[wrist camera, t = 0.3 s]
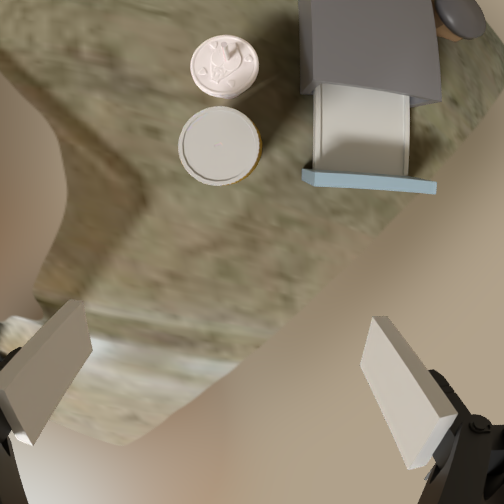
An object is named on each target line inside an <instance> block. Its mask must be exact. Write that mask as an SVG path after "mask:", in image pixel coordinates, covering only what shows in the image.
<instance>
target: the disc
mask: <svg viewBox="0 0 504 504" xmlns="http://www.w3.org/2000/svg"><path fill="white" fill-rule="evenodd" d="M434 4H435V9H436V11H437V14H438V16H439V17H440V19H441V21H442V22H443V23H444V25H445V26H446V27H447V28H448V29H449V30H450V31H451V32H452V33H454V34H455V35H457V36H458V37H460V38H463V39H467V40H471V39H474V38H477V37H479V36H481V35H483V33H484V32H485V29H486V21H485V17H484V14H483V12H482V10H481V8H480V7H479V5H478V4H477V2H476V1H475V0H434Z"/></svg>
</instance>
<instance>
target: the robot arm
mask: <svg viewBox="0 0 504 504" xmlns="http://www.w3.org/2000/svg"><path fill="white" fill-rule="evenodd" d="M92 351H93V349H92V345H91V340H90V335H89V330H88V325H87V320H86V314H85V308H84V302H83V301H79V300H71V299H70V300H69V301H68V302H67V303H66V304H64V305H63V306H62V307H61V308H60V309H59V310H58V311H57V312H56V313H55V314H54V315H53V316H52V317H51V318H50V319H49V320H48V321H47V322H46V323H45V324H44V325H43V326H42V327H41V328H40V329H39V330H38V331H37V333H36V334H35V335H34V336H33V337H32V338H31V339H30V340H29V341H28V342H27V343H26V344H25V345H24V346H23V347H18V348H17V349H15V350H13V351H11V352H10V353H9V354H8V355H7V356H6V357H5V358H4V359H3V361H1V362H0V504H28V501H27V498H26V495H25V492H24V489H23V485H22V482H21V479H20V475H19V472H18V468H17V464H16V460H15V457H14V452H13V449H12V444H11V441H10V438H9V437H8V435H9V433H10V431H11V430H12V431H13V433H14V435H15V436H16V438H17V440H19V441H21V442H23V443H26V444H29V445H31V446H34V444H35V442H36V440H37V439H38V437H39V435H40V434H41V432H42V430H43V428H44V427H45V425H46V423H47V422H48V420H49V418H50V417H51V415H52V413H53V412H54V410H55V409H56V407H57V405H58V404H59V402H60V400H61V399H62V397H63V396H64V394H65V392H66V391H67V389H68V388H69V386H70V385H71V383H72V381H73V380H74V378H75V377H76V375H77V374H78V372H79V371H80V369H81V368H82V366H83V365H84V363H85V361H86V360H87V358H88V357H89V355H90V354H91V352H92ZM360 367H361V369H362V371H363V373H364V375H365V377H366V379H367V381H368V384H369V386H370V387H371V390H372V392H373V394H374V396H375V398H376V400H377V403H378V405H379V407H380V409H381V411H382V413H383V415H384V418H385V420H386V422H387V424H388V426H389V429H390V430H391V433H392V435H393V438H394V439H395V442H396V444H397V446H398V449H399V451H400V453H401V456H402V458H403V460H404V462H405V465H406V467H407V469H408V470H411V469H415V468H418V467H422V466H425V465H426V464H427V463H428V461H429V460H430V458H431V457H432V455H433V457H434V459H435V461H436V463H435V465H434V466H433V468H432V469H431V470H430V472H429V473H428V474H427V476H426V477H425V479H424V480H427V479H428V480H427V483H426V486H425V488H424V490H423V492H422V495H421V497H420V499H419V502H418V504H504V425H492V424H491V422H490V421H489V420H488V419H487V418H485V417H483V416H481V415H476V414H473V415H471V413H470V412H469V411H468V409H467V408H466V406H465V405H464V404H463V402H462V401H461V400H460V398H459V397H458V395H457V394H456V393H454V390H453V388H452V387H451V386H449V383H448V382H447V381H446V379H445V378H444V376H442V375H441V374H440V373H438V372H437V371H435V370H427V368H426V367H425V366H424V364H423V363H422V362H421V360H420V359H419V357H418V356H417V355H416V353H415V352H414V351H413V350H412V348H411V347H410V345H409V344H408V343H407V342H406V340H405V339H404V337H403V336H402V335H401V334H400V332H399V331H398V330H397V328H396V327H395V326H394V324H393V323H392V322H391V321H390V319H389V318H388V317H387V316H373V317H372V320H371V325H370V329H369V333H368V337H367V341H366V345H365V348H364V352H363V356H362V359H361V363H360Z"/></svg>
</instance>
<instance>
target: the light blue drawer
mask: <svg viewBox="0 0 504 504" xmlns="http://www.w3.org/2000/svg"><path fill="white" fill-rule="evenodd" d="M313 91H314V112H313V169H303V168H302V180H303V181H305V182H307V183H309V184H311V185H313V186H320V187H343V188H361V189H377V190H391V191H404V192H416V193H427V194H436V188H437V187H436V186H437V182H434V181H430V180H425V179H421V178H416V177H411V176H407V175H408V166H409V136H410V103H409V96H405V95H400V94H395V93H390V92H384V91H378V90H371V89H365V88H358V87H350V86H342V85H333V84H323V83H321V84H320V85H318V86H317V87H316V88H315V89H314V90H313Z"/></svg>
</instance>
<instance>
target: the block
mask: <svg viewBox="0 0 504 504" xmlns="http://www.w3.org/2000/svg"><path fill="white" fill-rule="evenodd" d="M431 2H432V8H433V14H434V20H435V27H436V34H437V36H440V37H443V38H446V39H448V40H451V41H454V42H456V41H459V40H461V39H463V38H460V37H458V36H457V35H455V34H454V33H452V32H451V31H450V30H449V29H448V28H447V27H446V26H445V25H444V23H443V22H442V21H441V19H440V17H439V16H438V14H437V11H436V9H435V4H434V0H431Z"/></svg>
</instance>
